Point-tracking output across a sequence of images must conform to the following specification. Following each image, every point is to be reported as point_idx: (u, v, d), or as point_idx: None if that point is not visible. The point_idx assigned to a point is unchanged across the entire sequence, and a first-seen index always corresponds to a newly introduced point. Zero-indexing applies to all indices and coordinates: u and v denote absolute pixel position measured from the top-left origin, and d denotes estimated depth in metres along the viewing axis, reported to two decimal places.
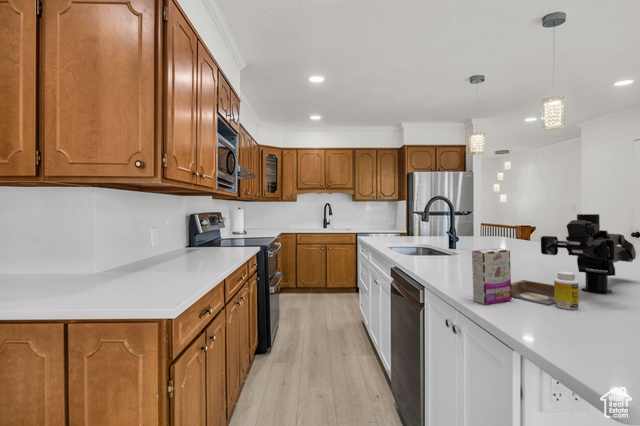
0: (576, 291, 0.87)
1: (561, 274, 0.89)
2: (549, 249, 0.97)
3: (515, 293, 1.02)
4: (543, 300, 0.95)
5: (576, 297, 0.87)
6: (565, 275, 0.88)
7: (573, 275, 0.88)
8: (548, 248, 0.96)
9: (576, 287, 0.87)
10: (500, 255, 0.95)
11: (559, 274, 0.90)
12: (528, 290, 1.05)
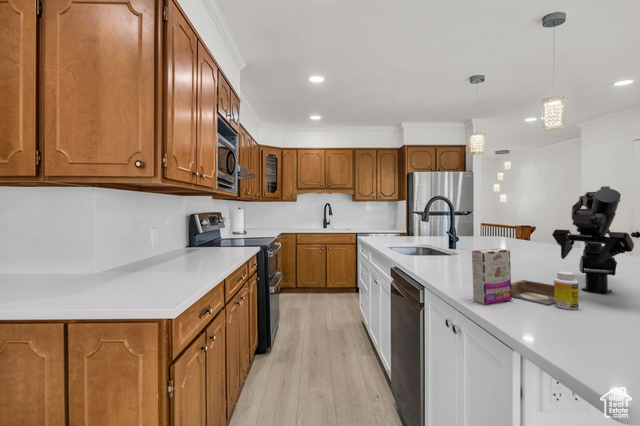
0: (576, 291, 0.87)
1: (561, 274, 0.89)
2: (565, 255, 0.97)
3: (515, 293, 1.02)
4: (543, 300, 0.95)
5: (576, 297, 0.87)
6: (565, 275, 0.88)
7: (573, 275, 0.88)
8: (563, 256, 0.97)
9: (576, 287, 0.87)
10: (500, 255, 0.95)
11: (559, 274, 0.90)
12: (528, 290, 1.05)
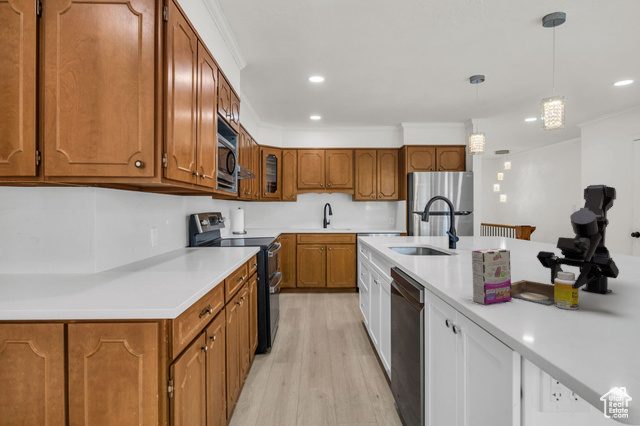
0: (576, 291, 0.87)
1: (561, 274, 0.89)
2: None
3: (515, 293, 1.02)
4: (543, 300, 0.95)
5: (576, 297, 0.87)
6: (565, 275, 0.88)
7: (573, 275, 0.88)
8: (553, 282, 0.92)
9: None
10: (500, 255, 0.95)
11: (559, 274, 0.90)
12: (528, 290, 1.05)
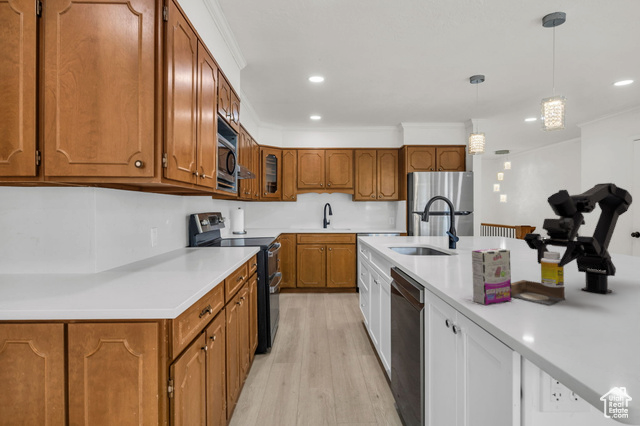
0: (561, 269, 0.91)
1: (547, 253, 0.93)
2: None
3: (515, 293, 1.02)
4: (543, 300, 0.95)
5: (561, 275, 0.91)
6: (551, 254, 0.92)
7: (558, 254, 0.92)
8: (540, 261, 0.96)
9: None
10: (500, 255, 0.95)
11: (545, 254, 0.93)
12: (528, 290, 1.05)
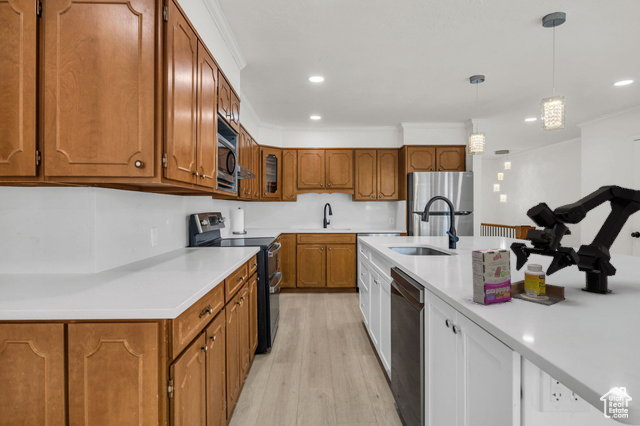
0: (543, 281, 0.96)
1: (530, 266, 0.98)
2: (519, 267, 1.03)
3: (515, 293, 1.02)
4: (543, 300, 0.95)
5: (543, 287, 0.96)
6: (533, 267, 0.98)
7: (540, 267, 0.97)
8: (518, 268, 1.03)
9: (543, 278, 0.96)
10: (500, 255, 0.95)
11: (528, 266, 0.99)
12: None
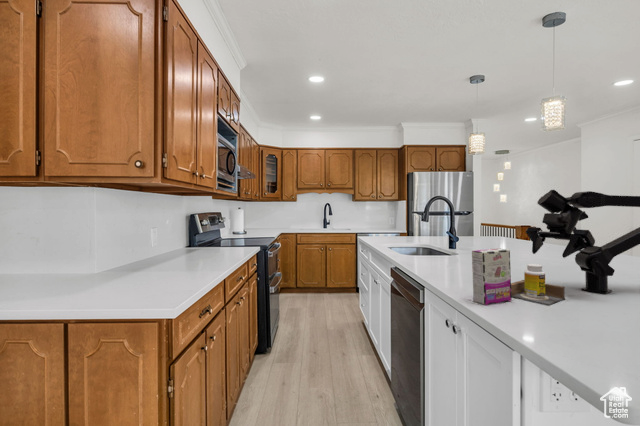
0: (543, 281, 0.96)
1: (529, 266, 0.98)
2: (535, 251, 1.07)
3: (515, 293, 1.02)
4: (543, 300, 0.95)
5: (543, 287, 0.96)
6: (533, 267, 0.98)
7: (540, 267, 0.97)
8: (534, 251, 1.06)
9: (543, 278, 0.96)
10: (500, 255, 0.95)
11: (528, 266, 0.99)
12: None
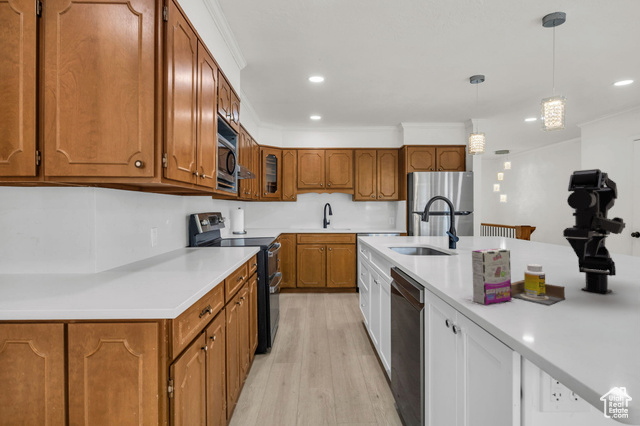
0: (543, 281, 0.96)
1: (529, 266, 0.98)
2: None
3: (515, 293, 1.02)
4: (543, 300, 0.95)
5: (543, 287, 0.96)
6: (533, 267, 0.98)
7: (540, 267, 0.97)
8: None
9: (543, 278, 0.96)
10: (500, 255, 0.95)
11: (528, 266, 0.99)
12: None
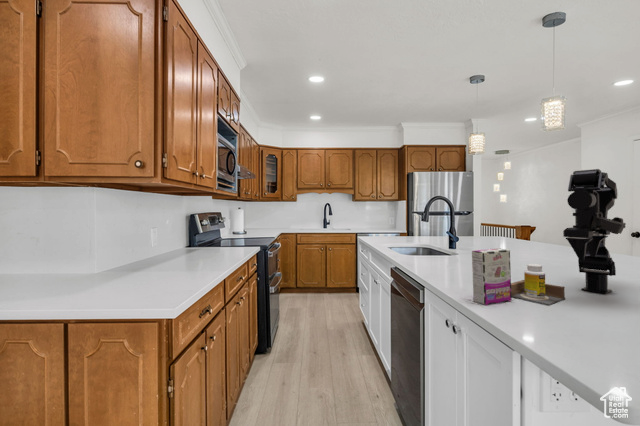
0: (543, 281, 0.96)
1: (529, 266, 0.98)
2: None
3: (515, 293, 1.02)
4: (543, 300, 0.95)
5: (543, 287, 0.96)
6: (533, 267, 0.98)
7: (540, 267, 0.97)
8: None
9: (543, 278, 0.96)
10: (500, 255, 0.95)
11: (528, 266, 0.99)
12: None
